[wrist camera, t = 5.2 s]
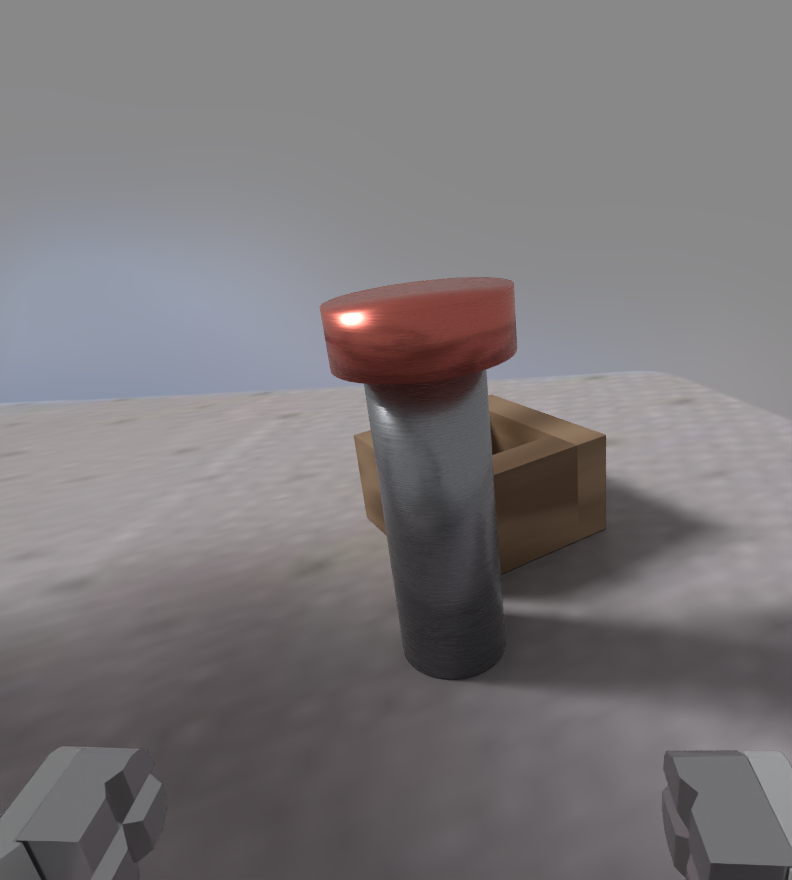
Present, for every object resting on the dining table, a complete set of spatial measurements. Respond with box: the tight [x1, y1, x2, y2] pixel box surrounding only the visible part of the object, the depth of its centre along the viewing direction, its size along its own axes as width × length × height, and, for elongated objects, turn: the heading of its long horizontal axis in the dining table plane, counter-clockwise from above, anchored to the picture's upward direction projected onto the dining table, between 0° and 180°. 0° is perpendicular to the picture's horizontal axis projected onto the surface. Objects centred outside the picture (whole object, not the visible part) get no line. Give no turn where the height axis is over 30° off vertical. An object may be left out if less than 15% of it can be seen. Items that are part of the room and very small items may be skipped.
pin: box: [320, 277, 517, 679], centre depth 21 cm, size 6×6×14 cm
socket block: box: [354, 395, 606, 574], centre depth 31 cm, size 9×9×5 cm
